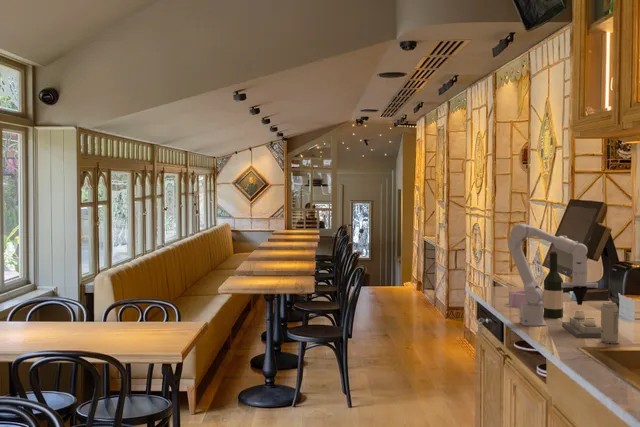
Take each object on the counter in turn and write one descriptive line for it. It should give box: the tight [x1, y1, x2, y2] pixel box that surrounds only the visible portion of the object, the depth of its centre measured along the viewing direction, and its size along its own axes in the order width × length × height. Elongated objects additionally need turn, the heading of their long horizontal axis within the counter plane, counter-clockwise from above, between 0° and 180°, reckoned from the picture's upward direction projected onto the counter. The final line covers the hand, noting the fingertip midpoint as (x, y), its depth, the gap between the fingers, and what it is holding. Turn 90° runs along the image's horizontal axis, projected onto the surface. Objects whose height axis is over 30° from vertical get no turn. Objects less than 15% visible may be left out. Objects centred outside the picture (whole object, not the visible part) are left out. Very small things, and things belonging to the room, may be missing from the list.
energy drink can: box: [600, 301, 619, 344], centre depth 257 cm, size 6×6×15 cm
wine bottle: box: [543, 250, 564, 319], centre depth 305 cm, size 8×8×30 cm
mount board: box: [561, 316, 601, 339], centre depth 275 cm, size 12×22×4 cm, turn 175°
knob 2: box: [585, 317, 596, 326], centre depth 268 cm, size 4×4×3 cm
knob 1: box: [573, 310, 586, 319], centre depth 282 cm, size 4×4×3 cm
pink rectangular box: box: [508, 289, 544, 309], centre depth 332 cm, size 20×12×7 cm, turn 80°
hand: (579, 304), depth 282 cm, fingers closed
